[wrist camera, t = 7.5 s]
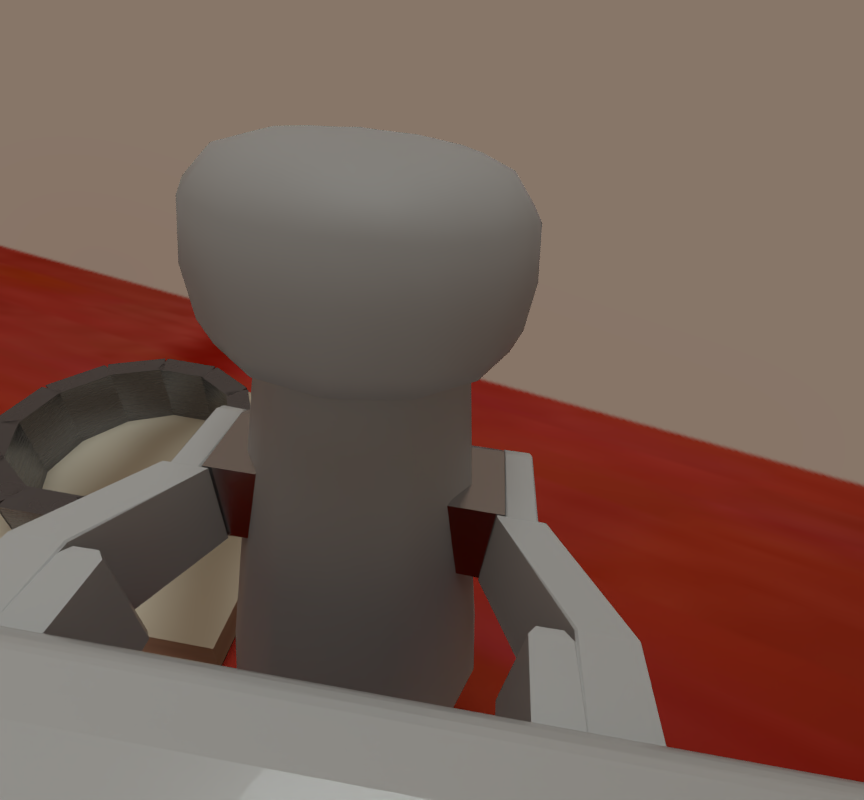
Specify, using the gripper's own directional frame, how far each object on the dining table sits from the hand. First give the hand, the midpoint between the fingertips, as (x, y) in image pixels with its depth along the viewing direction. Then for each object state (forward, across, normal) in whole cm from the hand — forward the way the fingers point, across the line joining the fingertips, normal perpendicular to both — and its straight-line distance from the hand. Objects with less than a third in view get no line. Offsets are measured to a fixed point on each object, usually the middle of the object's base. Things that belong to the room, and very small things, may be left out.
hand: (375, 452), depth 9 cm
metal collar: (+7, +12, +10) cm, 18 cm away
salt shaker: (-1, 0, +8) cm, 8 cm away
